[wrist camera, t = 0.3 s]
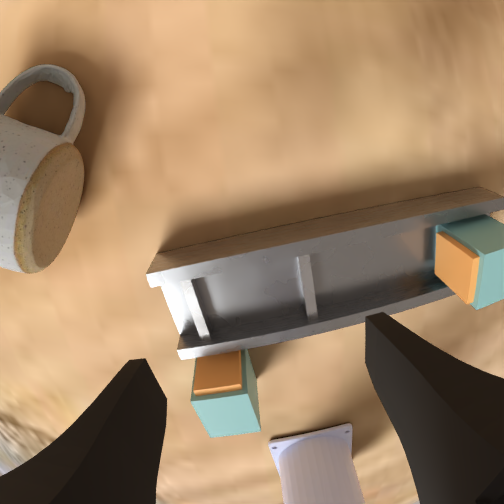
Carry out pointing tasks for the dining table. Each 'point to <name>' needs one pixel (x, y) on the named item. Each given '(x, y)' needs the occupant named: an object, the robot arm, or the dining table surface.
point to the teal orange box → (472, 259)
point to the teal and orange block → (226, 394)
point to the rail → (309, 273)
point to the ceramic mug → (38, 177)
